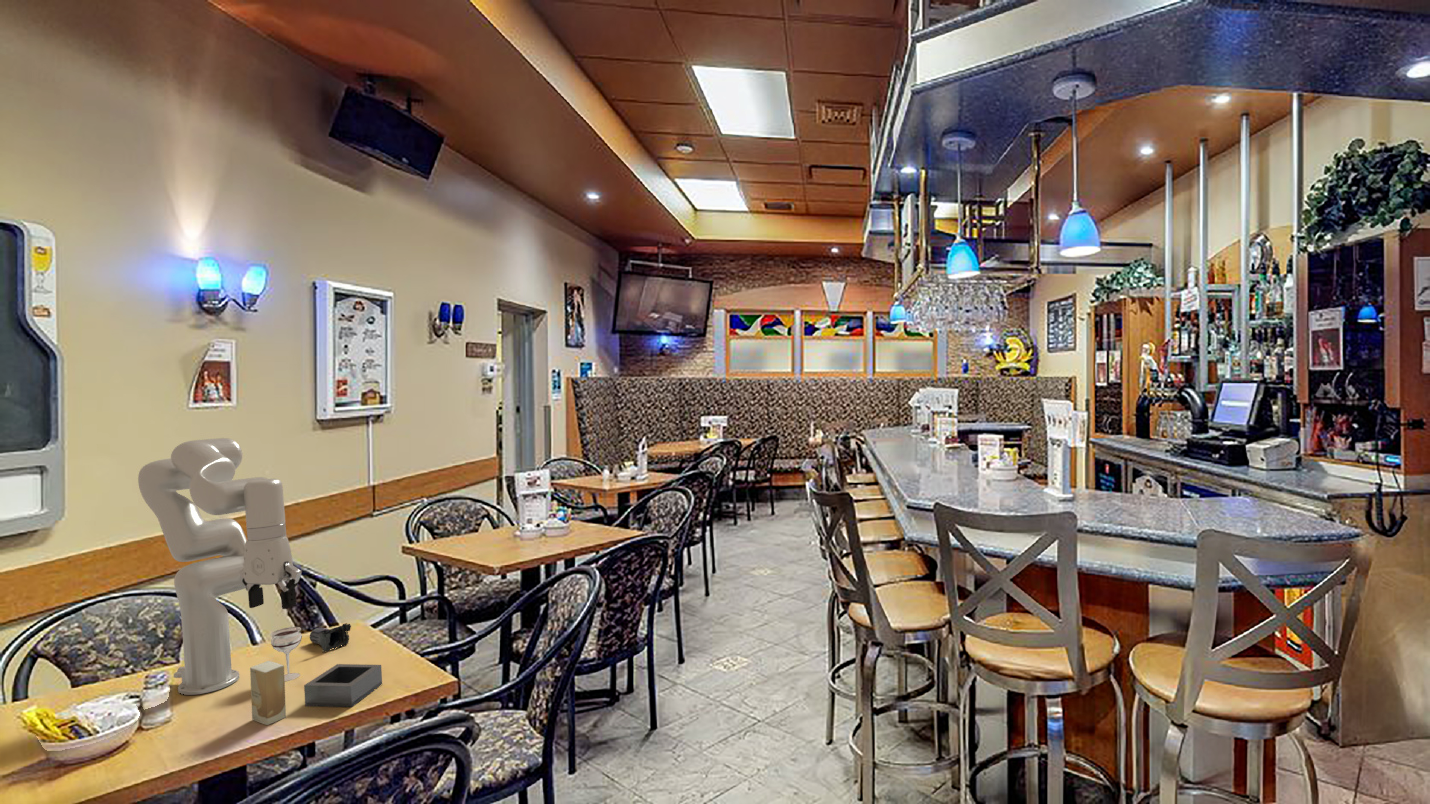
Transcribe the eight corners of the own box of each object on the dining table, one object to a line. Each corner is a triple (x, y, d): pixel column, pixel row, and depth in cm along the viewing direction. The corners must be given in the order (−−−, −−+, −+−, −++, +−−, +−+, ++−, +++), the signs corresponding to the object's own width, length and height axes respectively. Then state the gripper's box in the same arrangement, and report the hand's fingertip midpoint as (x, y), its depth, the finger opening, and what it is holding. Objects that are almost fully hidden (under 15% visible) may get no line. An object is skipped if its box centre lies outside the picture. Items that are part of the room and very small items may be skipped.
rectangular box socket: (305, 706, 161) (304, 685, 160) (338, 683, 172) (337, 664, 172) (352, 707, 159) (350, 686, 159) (382, 684, 171) (381, 664, 171)
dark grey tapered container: (349, 650, 198) (326, 645, 204) (352, 622, 199) (329, 618, 206) (318, 655, 191) (295, 649, 197) (321, 626, 192) (298, 622, 198)
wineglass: (309, 671, 180) (307, 626, 180) (291, 683, 174) (288, 636, 173) (285, 671, 181) (283, 626, 181) (266, 682, 174) (264, 636, 174)
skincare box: (251, 720, 155) (248, 667, 154) (271, 711, 158) (268, 659, 158) (267, 726, 152) (264, 672, 151) (287, 717, 155) (284, 664, 155)
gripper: (222, 536, 156) (228, 611, 156) (281, 536, 151) (287, 613, 151) (253, 529, 163) (259, 600, 164) (310, 529, 158) (316, 602, 159)
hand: (272, 606), depth 158 cm, fingers open, 9 cm apart
